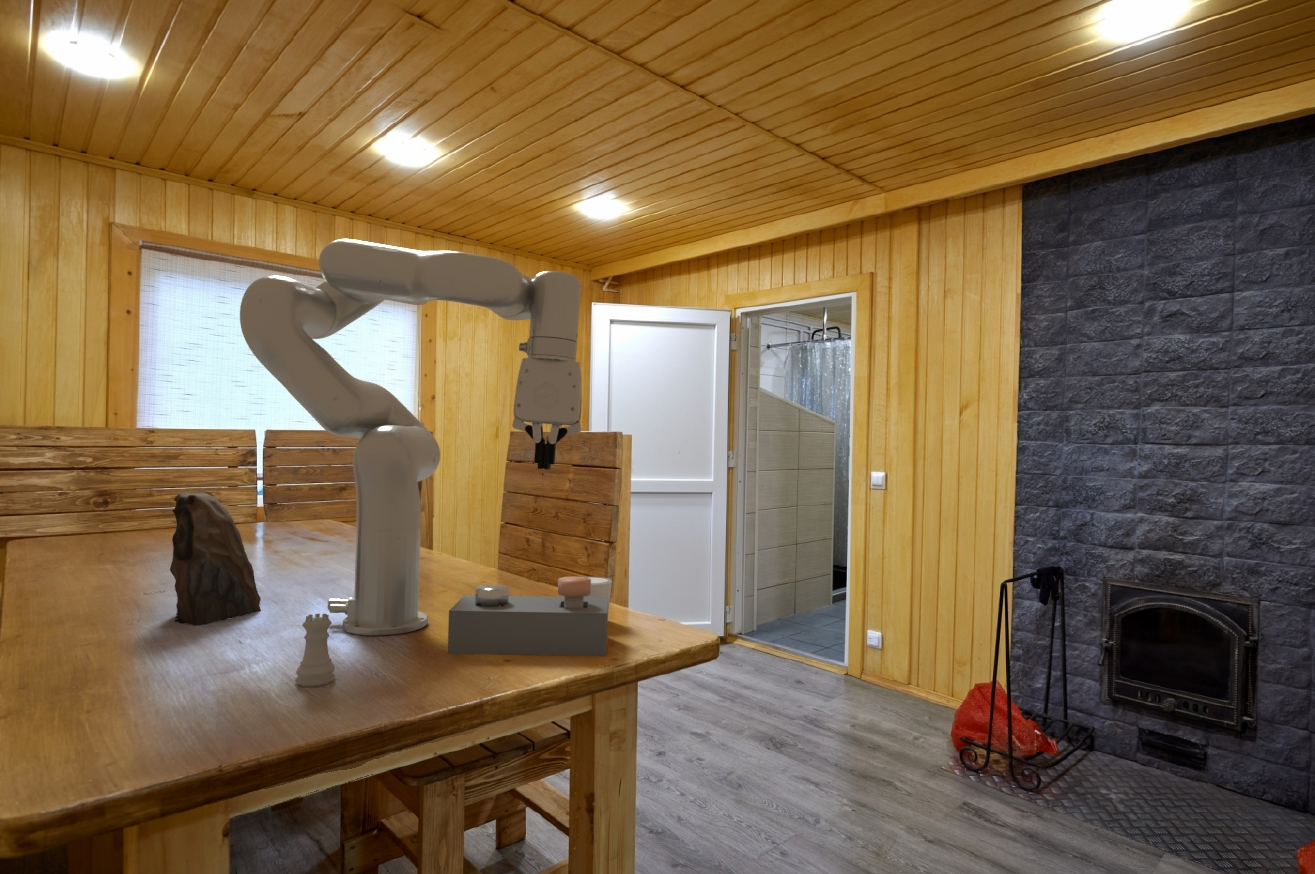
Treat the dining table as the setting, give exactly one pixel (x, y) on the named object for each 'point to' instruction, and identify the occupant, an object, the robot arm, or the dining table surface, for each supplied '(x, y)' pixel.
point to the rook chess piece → (316, 654)
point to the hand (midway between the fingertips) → (544, 468)
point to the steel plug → (491, 595)
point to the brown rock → (210, 563)
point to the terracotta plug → (574, 590)
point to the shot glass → (600, 588)
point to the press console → (529, 627)
